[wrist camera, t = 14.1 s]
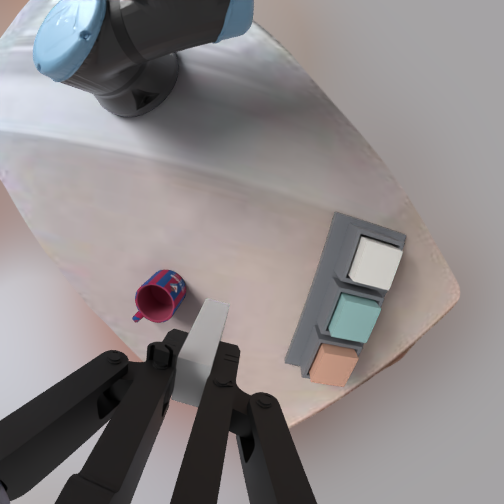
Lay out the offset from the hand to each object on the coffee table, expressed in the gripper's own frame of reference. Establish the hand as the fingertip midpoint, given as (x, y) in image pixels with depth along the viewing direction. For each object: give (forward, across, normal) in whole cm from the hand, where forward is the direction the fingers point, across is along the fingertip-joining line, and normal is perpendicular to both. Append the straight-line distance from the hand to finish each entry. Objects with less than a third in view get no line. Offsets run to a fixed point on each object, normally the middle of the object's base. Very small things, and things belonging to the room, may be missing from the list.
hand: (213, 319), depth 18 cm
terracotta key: (+26, +19, -16) cm, 36 cm away
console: (+29, +19, -7) cm, 36 cm away
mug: (+30, -12, -14) cm, 35 cm away
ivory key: (+26, +19, +2) cm, 33 cm away
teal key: (+26, +19, -7) cm, 33 cm away
